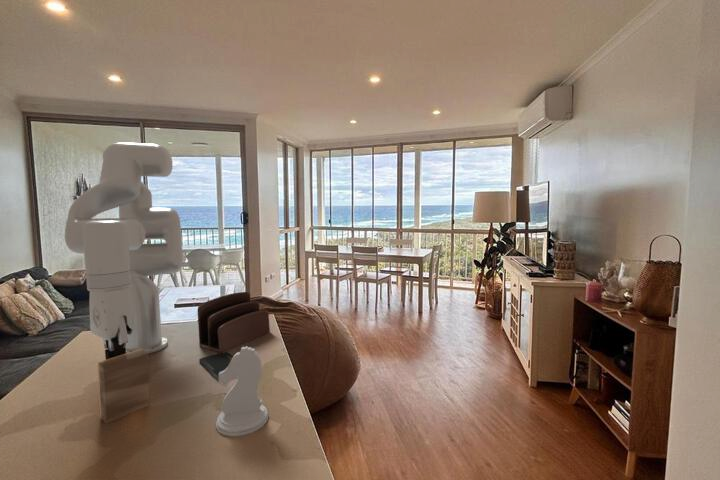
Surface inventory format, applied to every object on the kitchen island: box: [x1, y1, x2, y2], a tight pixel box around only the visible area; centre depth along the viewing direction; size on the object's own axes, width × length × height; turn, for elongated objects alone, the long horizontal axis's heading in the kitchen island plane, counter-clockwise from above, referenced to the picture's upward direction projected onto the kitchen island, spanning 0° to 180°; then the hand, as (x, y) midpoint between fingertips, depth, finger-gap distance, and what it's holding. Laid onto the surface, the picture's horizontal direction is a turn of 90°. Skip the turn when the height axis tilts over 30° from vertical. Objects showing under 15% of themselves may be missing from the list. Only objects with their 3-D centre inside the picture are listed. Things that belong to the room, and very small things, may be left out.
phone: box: [199, 351, 234, 381], centre depth 95 cm, size 8×1×15 cm
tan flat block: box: [97, 349, 150, 424], centre depth 74 cm, size 3×8×12 cm, turn 145°
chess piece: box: [215, 345, 269, 437], centre depth 70 cm, size 10×10×15 cm
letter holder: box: [197, 291, 271, 354], centre depth 114 cm, size 10×20×14 cm, turn 148°
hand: (116, 366), depth 75 cm, fingers closed
